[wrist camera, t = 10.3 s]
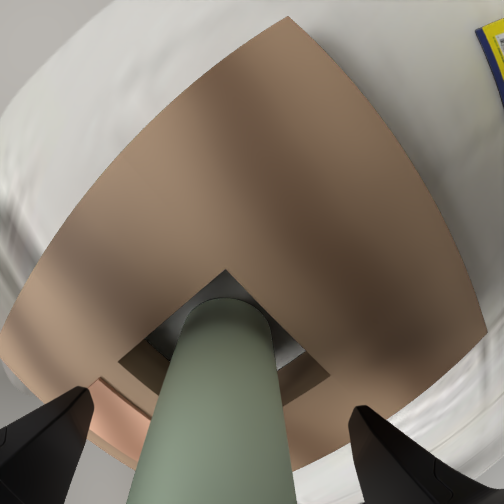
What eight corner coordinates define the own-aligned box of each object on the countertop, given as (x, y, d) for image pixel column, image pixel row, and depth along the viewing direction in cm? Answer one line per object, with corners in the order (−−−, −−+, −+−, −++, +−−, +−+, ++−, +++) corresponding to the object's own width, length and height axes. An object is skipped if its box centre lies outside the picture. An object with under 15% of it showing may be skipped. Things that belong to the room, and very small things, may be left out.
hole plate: (279, 43, 9) (289, 13, 7) (461, 311, 13) (489, 334, 10) (16, 328, 13) (-9, 350, 10) (203, 476, 16) (201, 505, 14)
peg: (266, 374, 13) (288, 574, 4) (184, 368, 13) (139, 563, 4) (275, 300, 12) (326, 543, 3) (181, 295, 12) (88, 521, 3)
